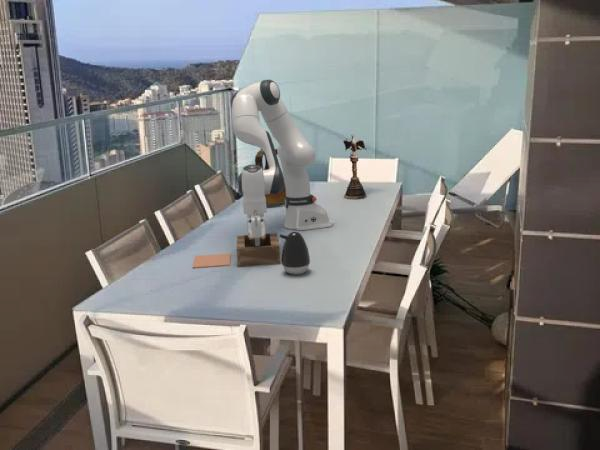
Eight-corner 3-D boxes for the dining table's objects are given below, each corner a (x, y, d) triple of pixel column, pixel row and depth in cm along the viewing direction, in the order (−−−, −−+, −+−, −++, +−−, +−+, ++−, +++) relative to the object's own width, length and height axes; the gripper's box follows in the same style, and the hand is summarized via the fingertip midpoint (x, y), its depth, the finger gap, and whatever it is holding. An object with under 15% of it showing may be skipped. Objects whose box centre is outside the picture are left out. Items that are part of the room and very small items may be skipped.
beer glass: (270, 255, 243) (267, 218, 239) (263, 261, 237) (260, 223, 233) (253, 254, 246) (251, 218, 242) (246, 260, 239) (244, 222, 235)
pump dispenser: (282, 268, 228) (280, 228, 224) (310, 267, 228) (308, 227, 224) (280, 277, 218) (278, 236, 214) (310, 276, 218) (308, 235, 214)
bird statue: (346, 192, 348) (344, 130, 339) (369, 193, 345) (367, 130, 335) (339, 199, 333) (337, 134, 324) (363, 199, 329) (361, 133, 320)
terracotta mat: (230, 254, 247) (230, 253, 247) (229, 265, 234) (229, 264, 234) (195, 257, 246) (195, 255, 246) (192, 268, 233) (192, 267, 233)
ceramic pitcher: (296, 201, 333) (293, 146, 325) (275, 210, 316) (271, 151, 309) (266, 198, 343) (263, 144, 335) (244, 206, 327) (240, 150, 319)
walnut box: (238, 252, 249) (236, 235, 248) (277, 249, 251) (276, 232, 249) (237, 266, 232) (236, 248, 230) (280, 263, 233) (279, 245, 231)
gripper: (264, 214, 226) (266, 250, 230) (262, 201, 246) (264, 235, 250) (246, 215, 226) (249, 251, 229) (246, 202, 246) (248, 236, 249)
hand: (257, 242), depth 240 cm, fingers closed on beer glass, 6 cm apart
